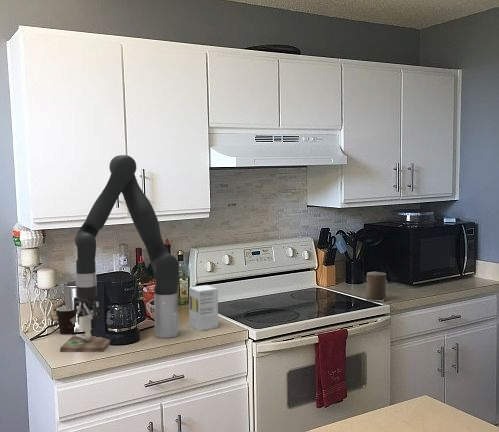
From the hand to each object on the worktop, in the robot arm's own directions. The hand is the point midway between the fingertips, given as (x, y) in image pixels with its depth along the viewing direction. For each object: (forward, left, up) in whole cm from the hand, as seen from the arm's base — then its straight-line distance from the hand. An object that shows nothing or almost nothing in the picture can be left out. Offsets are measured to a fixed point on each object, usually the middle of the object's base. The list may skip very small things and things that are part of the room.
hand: (87, 326), depth 221 cm
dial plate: (0, 0, -7) cm, 7 cm away
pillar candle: (-125, -73, -8) cm, 145 cm away
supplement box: (-42, -25, -8) cm, 50 cm away
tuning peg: (+2, -2, -6) cm, 6 cm away
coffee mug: (+12, -18, -8) cm, 23 cm away
